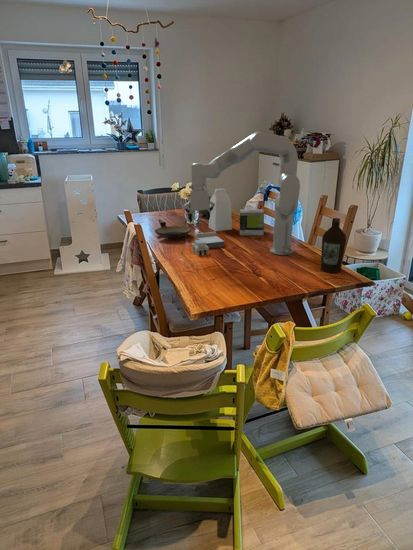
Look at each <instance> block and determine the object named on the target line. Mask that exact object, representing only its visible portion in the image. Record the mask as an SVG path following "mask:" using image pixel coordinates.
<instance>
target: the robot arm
mask: <svg viewBox="0 0 413 550" xmlns="http://www.w3.org/2000/svg"><path fill="white" fill-rule="evenodd" d="M296 149H297V148H296V147H295V145H294V143H292V140H291V139H290V138H289V137H287V136H284V135H276V134H270V133H265V132H262V131H255V132H253V133H251V134H250V135H249V136H247V137H246V138H244V139H242V140H241V141H239V142H238V143H237V144H234V145H233V146H232V147H230V148H228V150H226V151H225V152H223V153H222V154H221V155H219V156H217V157H215V158H214V159H213V160H211V161H210V162H209V163H204V162H193V163H192V164H191V168H190V169H191V170H190V171H191V174H190V175H191V184H190V185H189V186H188V189H190V192H189V200H188V202H187V203H185V204H183V205H182V207H183V209H184V211H185V212H186V213H187V215H188V216H187V217H188V220H189V221H190V222H192V221H193V212H194V211H198V210H207V212H206V215H205V216H206V218H205V219H206V220H208V221H209V218H210V212H211V211H212V209H213V207H214V206H215V203H213V202H211V201H209V196H210V195H209V190H208V189H207V179H217V178H218V177H220V176H221V174H222V172H223V171H225V170H227V169H229V167H232V166H233V165H236V164H239V163H242V162H244V161H245V160H247V159H248V158H249V157H251V156H253V155H254V154H256V153H257V152H261V153H267V154H271V155H272V154H273V155H278V157H279V159H280V165H279V166H280V167H279V172H278V173H279V175H278V180H277V181H278V182H277V184H278V186H279V194H278V195H277V196H276V197H275V201H274V221H273V222H274V225H273V226H274V227H273V236H272V237H273V239H272V240H273V241H272V247H270V248H269V252H270V253H271V254H273V255H279V256H280V255H281V256H286V255H287V256H288V255H291V254H293V253H294V248H292V233H293V222H294V214H295V212H296V211H297V209H298V205H299V197H300V191H301V181H300V179H299V177H298V176H297V173H298V164H299V163H298V161H299V160H298V152H297V150H296ZM210 204H211V207H210ZM188 207H189V209H188ZM209 207H210V208H209Z"/></svg>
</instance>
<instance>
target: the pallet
mask: <svg viewBox="0 0 413 550" xmlns="http://www.w3.org/2000/svg"><path fill="white" fill-rule="evenodd" d="M209 249H210V248H209V247H208V246H207V245H206V247H197V246H196V245H195V243H194V242H193V243H191V250H192V252H193V253H194V254H195V255H196V256H197V255H198V256H200V255H202V256H204V255H209V251H210V250H209Z"/></svg>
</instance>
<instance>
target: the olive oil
mask: <svg viewBox="0 0 413 550" xmlns="http://www.w3.org/2000/svg"><path fill="white" fill-rule="evenodd" d="M340 223H341V218H339V217H333V218H332V221H331V227H329V228H328V229H327V230H326V231H325V232H324V233H323V235H322V239H321V261H320V271H322V272H323V273H329V274H338V273H340V272H341V271H342V266H343V259H344V256H345V255H344V254H345V249H346V242H347V236H346V233H345V232H344V231H343V230H342V229H341V227H340V225H341V224H340Z"/></svg>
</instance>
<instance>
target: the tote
mask: <svg viewBox="0 0 413 550" xmlns="http://www.w3.org/2000/svg"><path fill="white" fill-rule="evenodd" d="M193 243H195V245H196V246H197V247H206V242H204V241H203V240H197V239H196V240H194V242H193Z"/></svg>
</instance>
